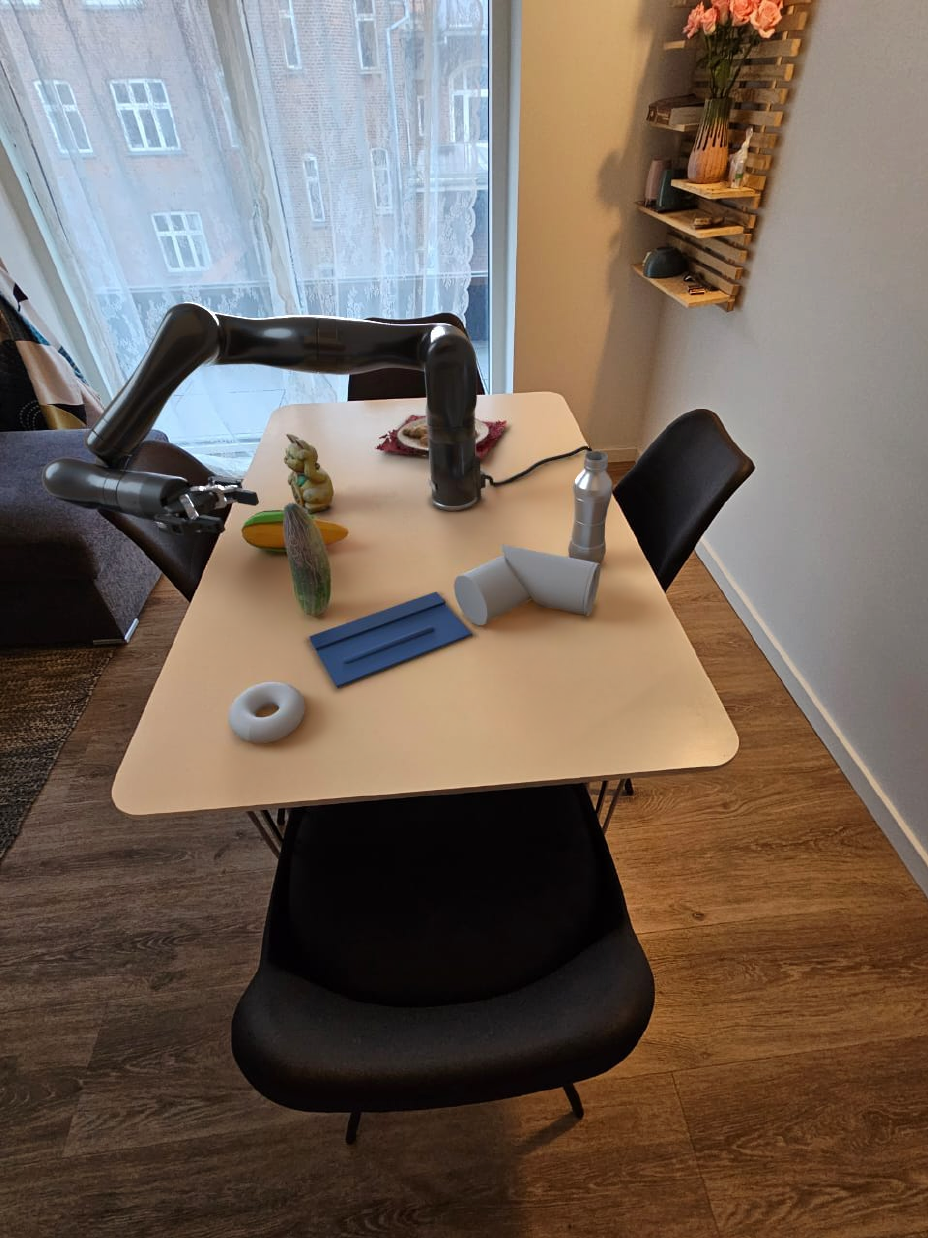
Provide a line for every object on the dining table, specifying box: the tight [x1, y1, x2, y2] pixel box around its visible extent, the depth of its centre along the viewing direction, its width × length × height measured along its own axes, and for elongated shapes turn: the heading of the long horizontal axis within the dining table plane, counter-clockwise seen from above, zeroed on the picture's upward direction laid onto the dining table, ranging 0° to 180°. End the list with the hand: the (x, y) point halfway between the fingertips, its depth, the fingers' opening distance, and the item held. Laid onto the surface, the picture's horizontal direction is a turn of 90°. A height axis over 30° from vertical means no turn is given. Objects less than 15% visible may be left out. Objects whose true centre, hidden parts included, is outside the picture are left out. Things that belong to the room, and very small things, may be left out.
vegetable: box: [283, 502, 332, 617], centre depth 100 cm, size 6×6×20 cm
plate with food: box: [374, 414, 508, 460], centre depth 156 cm, size 24×26×3 cm
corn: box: [240, 509, 349, 553], centre depth 119 cm, size 7×8×20 cm
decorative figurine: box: [283, 433, 335, 514], centre depth 129 cm, size 10×8×15 cm
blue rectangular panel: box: [308, 591, 473, 689], centre depth 100 cm, size 22×12×1 cm, turn 119°
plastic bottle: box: [567, 450, 614, 564], centre depth 108 cm, size 6×7×20 cm
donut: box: [228, 681, 306, 744], centre depth 87 cm, size 10×4×10 cm
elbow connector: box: [453, 544, 601, 626], centre depth 102 cm, size 18×11×20 cm
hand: (240, 512), depth 99 cm, fingers open, 8 cm apart
